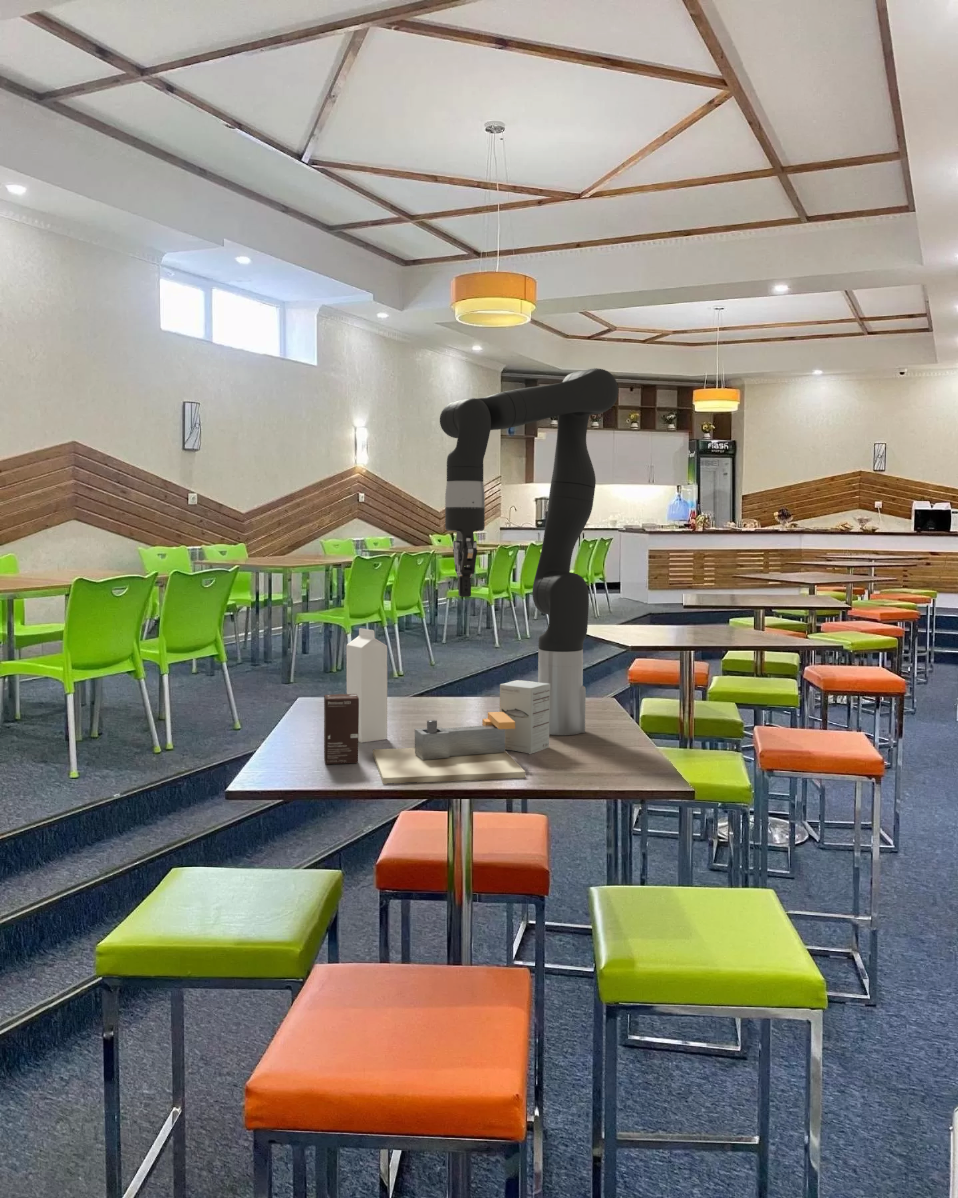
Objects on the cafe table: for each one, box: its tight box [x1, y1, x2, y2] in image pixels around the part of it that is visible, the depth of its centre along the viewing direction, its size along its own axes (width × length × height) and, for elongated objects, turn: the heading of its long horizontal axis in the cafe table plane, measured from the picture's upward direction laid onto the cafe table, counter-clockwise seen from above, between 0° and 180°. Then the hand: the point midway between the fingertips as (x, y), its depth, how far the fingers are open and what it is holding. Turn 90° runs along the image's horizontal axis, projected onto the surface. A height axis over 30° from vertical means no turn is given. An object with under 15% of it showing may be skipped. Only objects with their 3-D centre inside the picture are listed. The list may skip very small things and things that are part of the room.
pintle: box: [426, 719, 441, 760], centre depth 171 cm, size 4×4×8 cm
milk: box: [346, 627, 388, 744], centre depth 190 cm, size 6×6×22 cm
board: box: [372, 747, 526, 785], centre depth 169 cm, size 24×21×1 cm
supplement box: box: [498, 679, 550, 755], centre depth 182 cm, size 7×7×13 cm
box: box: [323, 693, 359, 765], centre depth 171 cm, size 6×4×12 cm
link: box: [414, 725, 506, 760], centre depth 173 cm, size 16×5×4 cm, turn 109°
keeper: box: [481, 711, 515, 729], centre depth 175 cm, size 4×10×8 cm, turn 11°
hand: (464, 596), depth 183 cm, fingers closed
